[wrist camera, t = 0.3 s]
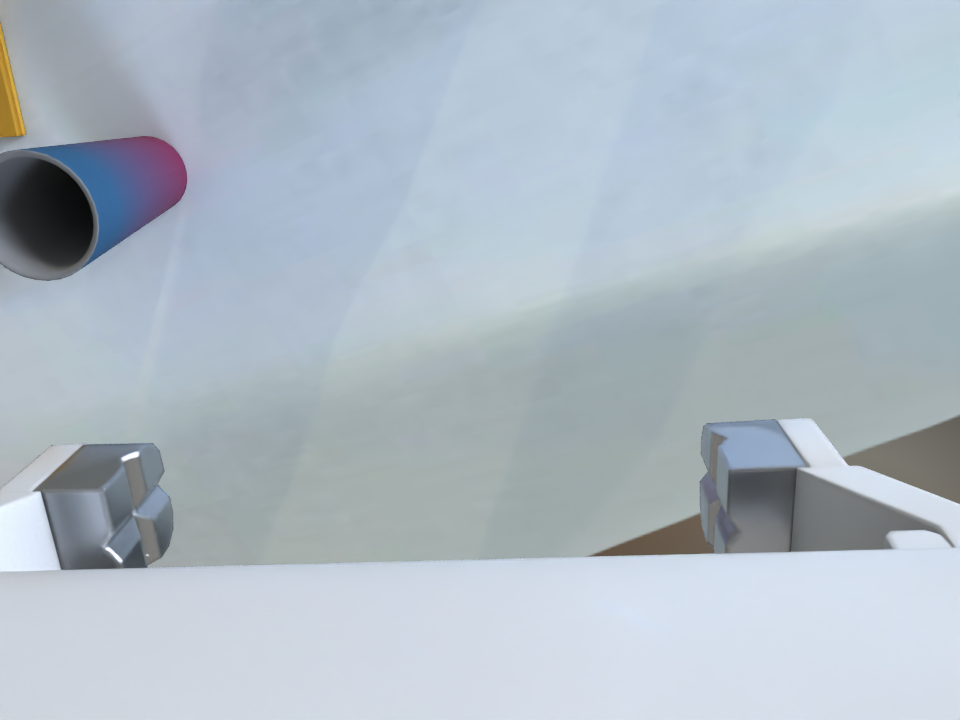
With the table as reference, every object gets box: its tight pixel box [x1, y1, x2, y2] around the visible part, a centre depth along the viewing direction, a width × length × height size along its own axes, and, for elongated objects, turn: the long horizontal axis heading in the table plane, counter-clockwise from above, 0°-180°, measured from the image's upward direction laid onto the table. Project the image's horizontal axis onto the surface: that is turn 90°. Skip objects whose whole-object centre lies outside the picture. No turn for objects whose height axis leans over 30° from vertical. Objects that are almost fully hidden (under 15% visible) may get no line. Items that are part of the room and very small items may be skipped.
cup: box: [0, 136, 187, 281], centre depth 52 cm, size 7×7×15 cm
